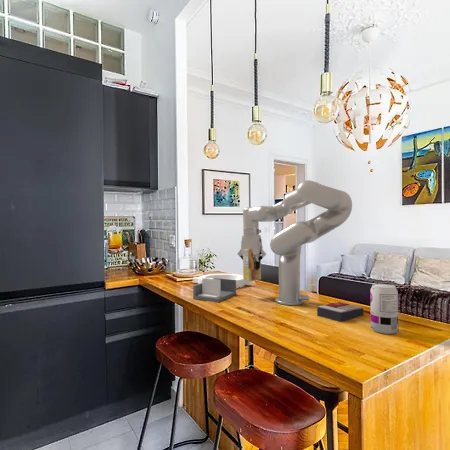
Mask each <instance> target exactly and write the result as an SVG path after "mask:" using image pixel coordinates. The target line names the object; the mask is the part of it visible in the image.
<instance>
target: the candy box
mask: <svg viewBox="0 0 450 450" xmlns="http://www.w3.org/2000/svg"><path fill="white" fill-rule="evenodd" d="M261 255H262V254H261ZM261 255H260V256H261ZM261 264H262V263H261V261H260V269H258V270H256V257H255V256H253V253H252V250H250V249H245V250H243V260H242V270H243V271H242V275H243V280H244V281H252V282H253V281H259V280H262V275H261V274H262V265H261Z"/></svg>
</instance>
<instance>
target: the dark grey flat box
mask: <svg viewBox="0 0 450 450" xmlns="http://www.w3.org/2000/svg"><path fill="white" fill-rule="evenodd" d="M364 310H365V309H364V308H363V307H362V306H360V305H354V304H349V303H345V302H341V301H339V302H332V303H328V304H327V303H326V304H325V305H324V304H323V305H319V306H317V309H316V311H317V312H316V315H317V317H319V318H320V317H321V318H324V319H329V320H332V321H335V322H339V323H343V322H347V321H349V320H351V319H355V318H359V317H361V316H364Z"/></svg>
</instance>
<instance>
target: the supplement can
mask: <svg viewBox="0 0 450 450" xmlns="http://www.w3.org/2000/svg"><path fill="white" fill-rule="evenodd" d="M398 292H399V291H398V288H397V287H396V285H394V284H389V283H387V284H385V283H374V284H373V283H372V285H371V288H370V292H369V293H370V328H371V329H372V330H373V332H375V333H379V334H383V335H393V334H396V333H397V332H398V331H399V293H398Z"/></svg>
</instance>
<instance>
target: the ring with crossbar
mask: <svg viewBox="0 0 450 450" xmlns="http://www.w3.org/2000/svg"><path fill="white" fill-rule="evenodd" d="M202 278H207V279H213V278H221V279H232V280H236V289H240V288H243V287H245V286H252V285H253V281H244V280H243V274H239V273H238V274H236V273H209V274H204V275H203V274H202V275H199V276H198V277H196V276H195V277H193V278H192V284H193V283H195V284H200V283H202ZM239 287H240V288H239Z"/></svg>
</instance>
